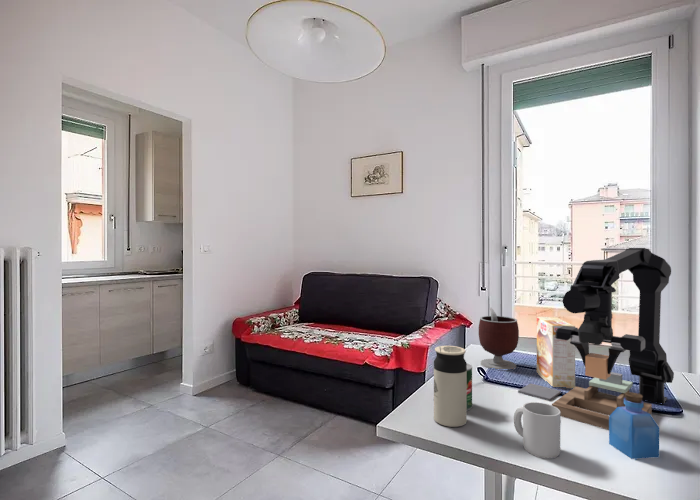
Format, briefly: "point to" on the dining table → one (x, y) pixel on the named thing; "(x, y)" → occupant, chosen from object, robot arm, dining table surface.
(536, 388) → the mat
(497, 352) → the mate gourd
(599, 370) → the block
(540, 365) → the coffeecake box
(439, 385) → the travel mug
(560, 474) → the dining table surface
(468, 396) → the canned tomato
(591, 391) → the puzzle board
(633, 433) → the perfume bottle
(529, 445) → the cup
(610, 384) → the lid
